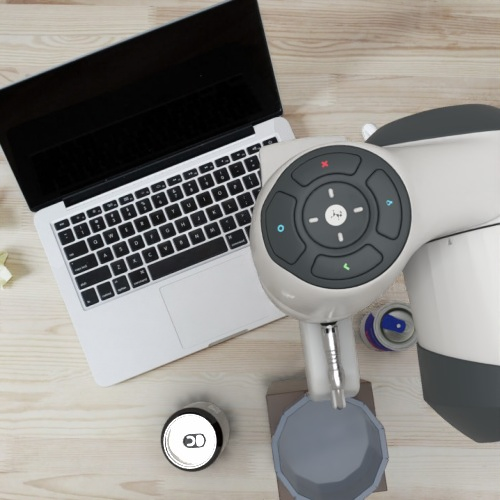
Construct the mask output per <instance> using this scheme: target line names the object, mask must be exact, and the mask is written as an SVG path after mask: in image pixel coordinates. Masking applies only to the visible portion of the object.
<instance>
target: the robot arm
mask: <svg viewBox="0 0 500 500" xmlns="http://www.w3.org/2000/svg"><path fill="white" fill-rule="evenodd" d="M258 157H259V163H258V168H259V181H260V191H259V193H258V195H257V197H256V200H255V203H254V205H253V209H252V214H251V218H250V225H249V226H250V228H249V248H250V254H251V259H252V263H253V266H254V268H255V270H256V274H257V275H256V276H257V277H258V280H259V283H260V286H261V288H262V290H263V292H264V293H265V295H266V297H267V298H268V300H269V301H270V302H271V303H272V304H273V306H274V307H276V308H277V309H278V310H279V312H282V313H283V314H285V315H286V316H288V317H289V318H291V319H294V320H296V321H298V328H299V334H300V341H301V348H302V356H303V362H304V363H303V364H304V371H305V378H307V385H308V391H309V395H310V398H311V400H312V401H314V402H318V401H328V400H331V402H332V406H333V408H334V409H338V410H341V409H342V408H345V407H346V403H345V398H349V397H354V396H356V395H357V393H358V392H359V389H360V378H361V377H360V365H359V363H360V362H359V357H358V351H357V343H356V338H355V330H354V324H353V317H352V316H353V315H355V314H357V313H359V312H361V311H362V310H364V309H366V308H367V307H369V306H370V305H372V304H373V303H375V302H376V301H377V300H378V299H379V298H381V297H382V296H383V295H384V294H386V293H387V291H388V290H389V289H390V288H391V287H392V286H393V285H394V283H395V282H396V281H397V279H398V278H399V277H400V275H401V274H402V276H403V280H404V285H405V290H406V293H407V298H408V304H410V308H411V312H412V316H413V321H414V325H415V330H416V334H417V339H418V341H417V343H416V344H415V347H416V354H417V361H418V368H419V375H420V382H421V391H422V398H423V401H424V402H425V403H426V404H427V405H428V406H429V407H430V408H431V409H432V410H433V411H434V412H435V413H437V415H439V417H441V419H443V420H444V421H445V422H446V423H448V424H449V425H450V426H452V427H453V428H454V429H455V430H457V431H458V432H460V433H461V434H462V435H463V436H465V437H467V438H468V439H470V440H472V441H473V442H475V443H478V444H493V445H500V107H497V106H494V105H490V104H487V103H486V104H485V103H464V104H463V103H462V104H454V105H449V106H448V105H447V106H442V107H441V106H440V107H436V108H432V109H427V110H424V111H420V112H416V113H412V114H409V115H407V116H403V117H401V118H398V119H395V120H393V121H390V122H388V123H385V124H384V125H382V126H380V127H378V128H377V129H376V130H375V131H374V132H373V133H372V134H371V135H369V137H368V138H366V140H365V141H358V140H348V138H347V137H346V135H337V134H335V135H316V136H315V135H314V136H307V137H299V138H293V139H288V140H283V141H278V142H274V143H271V144H270V143H269V144H267V145H264V146H261V147H260V148H259V151H258Z"/></svg>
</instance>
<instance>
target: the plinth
mask: <svg viewBox="0 0 500 500" xmlns="http://www.w3.org/2000/svg"><path fill="white" fill-rule="evenodd" d="M372 385H373V384H372V381H369V380H366V379H363V378H361V377H360V389H359V392H358V393H357V395H356V396H354V397H355V398H358V399H359V400H361V401H363V402H364V403H365V404H366V405H367V406H368V407H369V409H370V410H371V411H372V412H373V414H374V415H375V416H376V418H377V419H378V417H377V410H376V405H375V399H374V392H373V386H372ZM305 391H308V385H307V378H306V377H302V378H293V379H287V380H279V381H271V382H270V385H269V387H268V389H267V392H266V394H265V401H266V408H267V409H266V410H267V416H268V424H269V432H270V439H271V441H272V434H273V431H274V429H275V426H276V424H277V421H278V419H279V416H280V414H281V411H282V409H283V408H284V407H285V406H287V405H288V404H289V403H290V402H292V401H293V400H294V399H296V398H297V397H298V396H299V395H301V394H302V393H303V392H305ZM275 477H276V484H277V492H278V500H295V498H293V497H292V496H291V494H290V493H289V491H288V490H287V489H286V487H285V486H284V485H283V483H282V482H281V481H280V479H279V478H278V477H277V475H276V474H275ZM381 492H388V483H387V477H386V470H385V471H384V474H383V476H382V479H381V482H380V484H379V487H378V488H377V489H376V490H375V491H374V492H373V493H372V494H374V493H381Z"/></svg>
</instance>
